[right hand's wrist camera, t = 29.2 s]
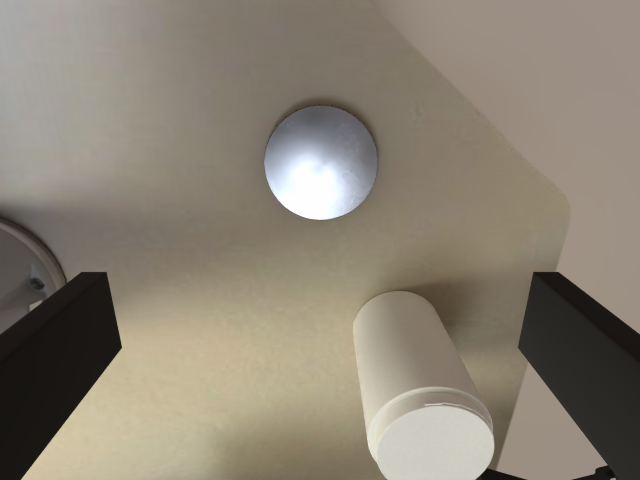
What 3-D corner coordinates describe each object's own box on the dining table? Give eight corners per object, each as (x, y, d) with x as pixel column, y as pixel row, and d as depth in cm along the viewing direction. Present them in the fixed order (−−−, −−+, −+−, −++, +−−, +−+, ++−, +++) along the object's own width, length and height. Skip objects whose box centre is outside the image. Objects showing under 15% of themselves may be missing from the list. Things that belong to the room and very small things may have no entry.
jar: (439, 360, 46) (498, 493, 31) (356, 368, 46) (373, 503, 31) (439, 286, 42) (504, 394, 27) (349, 295, 43) (365, 406, 28)
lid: (332, 79, 35) (332, 78, 34) (397, 173, 38) (401, 176, 37) (242, 151, 37) (239, 154, 36) (311, 235, 40) (311, 241, 39)
